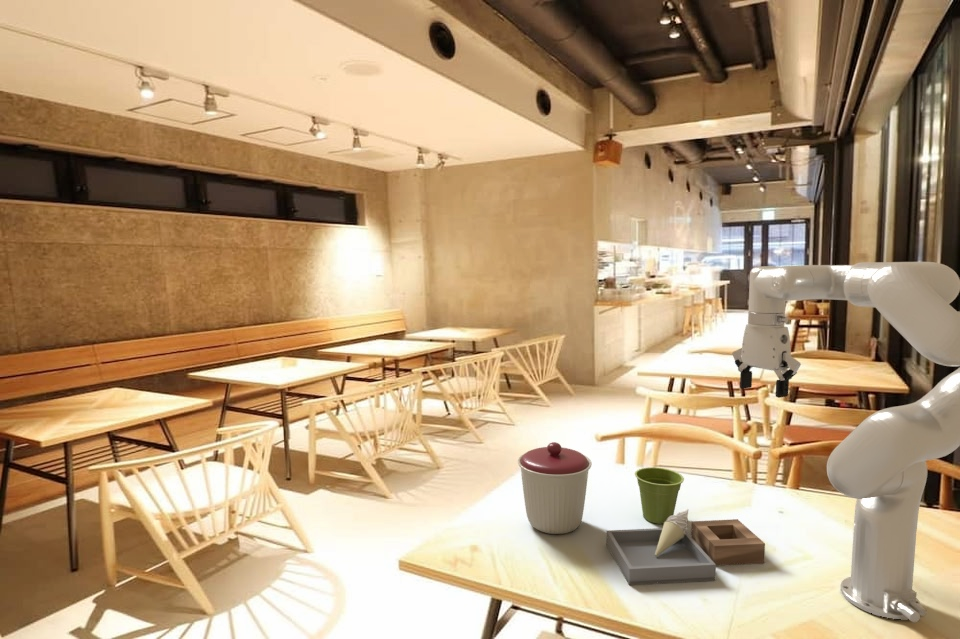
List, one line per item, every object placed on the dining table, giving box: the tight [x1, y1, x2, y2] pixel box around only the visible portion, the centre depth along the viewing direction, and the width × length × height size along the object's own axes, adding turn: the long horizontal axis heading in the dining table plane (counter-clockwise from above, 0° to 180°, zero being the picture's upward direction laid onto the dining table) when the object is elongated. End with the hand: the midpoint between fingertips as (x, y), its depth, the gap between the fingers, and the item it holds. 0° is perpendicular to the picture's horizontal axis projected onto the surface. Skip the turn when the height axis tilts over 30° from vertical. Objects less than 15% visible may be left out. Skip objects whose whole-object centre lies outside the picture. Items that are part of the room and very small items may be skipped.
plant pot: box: [634, 466, 685, 525], centre depth 140 cm, size 12×12×11 cm
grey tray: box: [605, 527, 717, 586], centre depth 121 cm, size 16×18×4 cm
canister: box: [517, 442, 592, 535], centre depth 137 cm, size 18×18×21 cm
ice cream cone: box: [655, 508, 689, 557], centre depth 125 cm, size 5×5×15 cm
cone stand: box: [690, 518, 766, 567], centre depth 125 cm, size 11×11×4 cm
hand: (763, 392), depth 130 cm, fingers open, 9 cm apart
